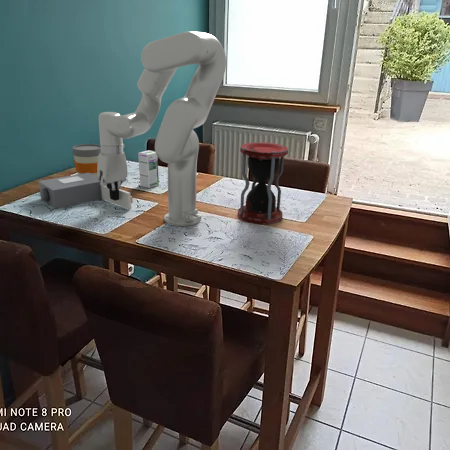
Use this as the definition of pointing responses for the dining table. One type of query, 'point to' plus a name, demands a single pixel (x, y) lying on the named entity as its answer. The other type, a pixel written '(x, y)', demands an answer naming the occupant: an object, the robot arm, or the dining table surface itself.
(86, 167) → the reusable coffee cup
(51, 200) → the camera housing
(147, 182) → the syrup box
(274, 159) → the hourglass
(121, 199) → the side door
